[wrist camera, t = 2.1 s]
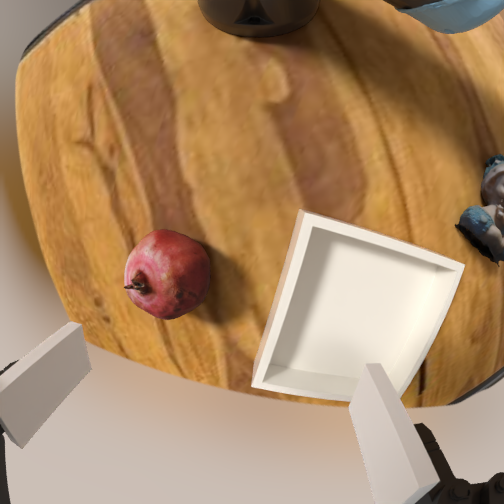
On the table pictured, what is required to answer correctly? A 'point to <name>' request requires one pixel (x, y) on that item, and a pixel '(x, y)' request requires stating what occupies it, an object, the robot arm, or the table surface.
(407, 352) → the dish
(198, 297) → the fruit
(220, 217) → the table surface
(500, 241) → the figurine
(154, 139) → the table surface
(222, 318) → the table surface
